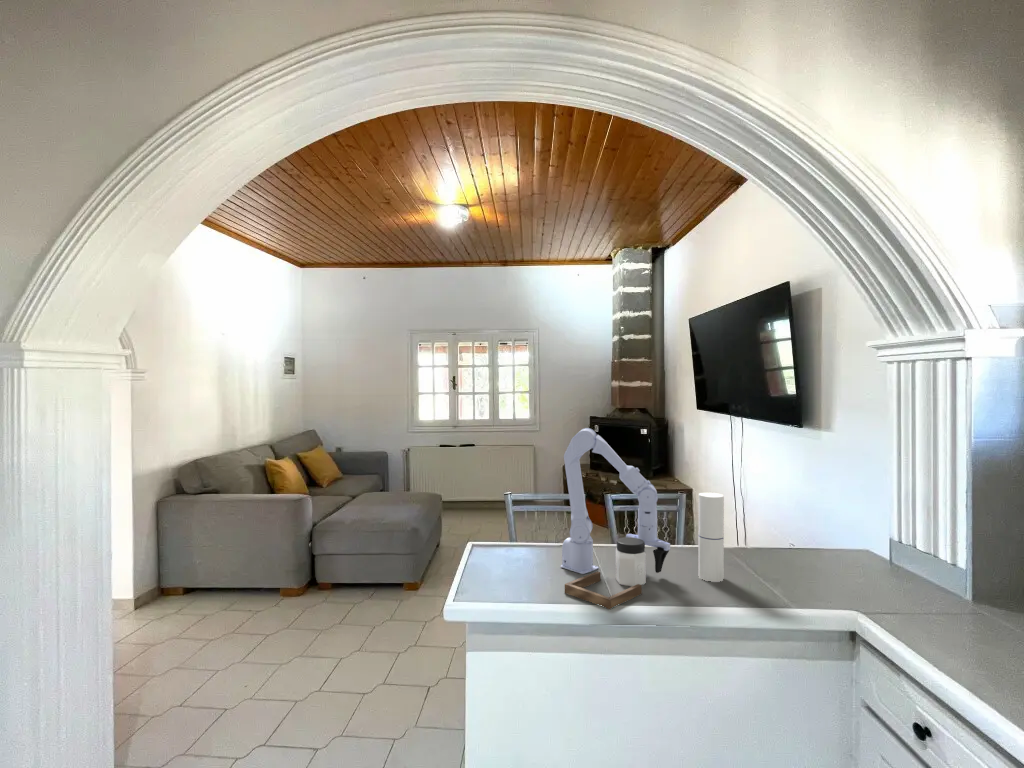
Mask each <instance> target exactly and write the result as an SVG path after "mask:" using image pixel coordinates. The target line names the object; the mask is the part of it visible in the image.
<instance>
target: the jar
mask: <svg viewBox="0 0 1024 768" xmlns="http://www.w3.org/2000/svg"><path fill="white" fill-rule="evenodd" d="M645 549H646V545H645V542H644V541H643V540H641V539H638V538H632V537H626V536H625V537H619V538H617V539H616V548H615V579H616V581H617V583H618V584H619V585H622V586H627V587H628V586H629V587H632V586H635V585H637V584H640V585H642V584H643V585H645V583H646V582H647V581H646V580H647V579H646V578H647V574H646V572H647V567H646V566H647V565H646V564H647V562H646V561H647V560H646V559H647V557H646V556H647V555H646V553H647V552H646V551H645ZM646 584H647V583H646ZM643 585H642V586H643Z"/></svg>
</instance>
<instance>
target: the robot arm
mask: <svg viewBox="0 0 1024 768" xmlns="http://www.w3.org/2000/svg"><path fill="white" fill-rule="evenodd" d="M590 450H591V453H594V454H599V455H601V456H602V457H604V459H606V461H607V462H608V463H609V464H610V465H612V467H614V469H616V471H618V472H619V474H618V475H619V480H620V481H621V482H622V483H623V484H624V485H625V486H626V488H628V490H630V492H631V493H632V494H634V495H637V496H636V497H637V501H638V509H637V534H634V533H633V534H632V533H627V534H625V537H632V538H638V539H641V540H643V541H644V542H645V546H649V547H652V548H655V549H653V550H652V552H653V557H654V571H655V573H656V574H658V573H661V572H662V569H663V566H664V562H665V559H666V557H667V556H668V554H669V551H671V543H670V542H667V541H665V540H662V539H659V538H658V509H657V507H658V506H657V505H658V504H657V502H658V500H659V497H658V491H657V489H656V487H655V485H654V484H653V483H651V481H650V480H649V479H648V480H647V478H645V477H644V476H643V475H642V474H641V473H640V471H641V470H640V469H639V467H635V466H633V465H627V464H626V463H625V461H623V460H622V458H621V457H620V456H619V455H618V453H617V452H616V451H615V450H614V449H613V448H612V447H611V445H609V444H608V442H607V441H606V440H605V439H604V438H603V437H602V436H601V435H599V434H597V433H596V431H595V430H594V429H592V428H590V427H584V428H582V429H581V430H579V431H578V432H577V433H576V434H575V435H574V436H573V437H572V438H571V439H570V442H569V444H568V446H567V448H566V450H565V452H564V454H563V459H564V460H563V461H564V468H565V476H566V483H567V490H568V497H569V498H568V499H569V505H570V523H571V525H570V529H569V537H567V538H566V539H564V541H563V542H562V544H561V545H562V546H561V565H560V568H563V569H566V570H568V571H571V572H575V573H578V574H581V575H587V574H588V573H590V572H593V571H597V570H599V569H600V567H599V566H597V565H594V548H593V547H594V539H593V538H592V536H591V533H592V530H593V527H594V526H593V522H592V520H591V519H590V517H589V513H588V509H587V505H586V497H585V490H584V482H583V477H582V468H581V462H580V460H581V458H582V456H584V454H585V453H587V452H588V451H590Z"/></svg>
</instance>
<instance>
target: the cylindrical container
mask: <svg viewBox="0 0 1024 768" xmlns="http://www.w3.org/2000/svg"><path fill="white" fill-rule="evenodd" d="M724 501H725V497H724V494H722V493H718V492H711V491H710V492H699V493H698V551H697V552H698V554H697V555H698V557H697V558H698V569H697V570H698V576H699V577H698V579H699V580H702V579H703V580H702V581H704V580H705V582H708V581H711V582H710V583H721V582H723V581H724V580H723V579H724V578H725V577H724V576H725V575H724V574H725V573H724V568H725V566H724V565H725V564H724V563H725V561H724V559H725V558H724V557H725V554H724V552H725V548H724V547H725V544H724V543H725V539H724V538H725V537H724V536H725V535H724V534H725V533H724V531H725V530H724V529H725V527H724V525H725V523H724V522H725V521H724V520H725V509H724V508H725V507H724V506H725V502H724ZM720 581H721V582H720Z"/></svg>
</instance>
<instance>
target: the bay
mask: <svg viewBox="0 0 1024 768" xmlns="http://www.w3.org/2000/svg"><path fill="white" fill-rule="evenodd" d="M600 581H602V580H601V571H598V570H596V571H595V572H592V573H589V574H585V575H584V576H582V577H579V578H576V579H574V580H572V581H569V582H567V583H564V594H566V595H569V596H572V597H574V596H575V598H577V599H579V600H583V601H585V600H586V602H588V601H589V602H588V603H591V602H592V603H591V604H594V603H595V604H594V605H596V604H599V605H602V606H604V607H606V608H605V609H607V610H611V608H612V607H614V606H616V605H618V604H620V605H622V604H623V602H624V603H626V602H628V601H630V600H632V599H634V597H635V598H636V596H637V597H638V595H639V596H641V595H642V594H643V593H642V591H643V589H642V588H643V587H642V586H643V585H640V584H637V585H635V586H629V588H627V589H623V590H622V591H619V592H617V593H615V594H612V595H611V596H606V595H603V594H601V593H598V592H594V591H592V590H589V589H586V587H589V586H591V585H593V584H596V583H598V582H600ZM640 594H641V595H640ZM627 600H628V601H627ZM625 601H626V602H625ZM621 603H622V604H621ZM599 605H598V606H599ZM602 606H601V607H602ZM618 606H619V605H618ZM604 607H603V608H604ZM616 607H617V606H616ZM614 608H615V607H614ZM612 609H613V608H612Z"/></svg>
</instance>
